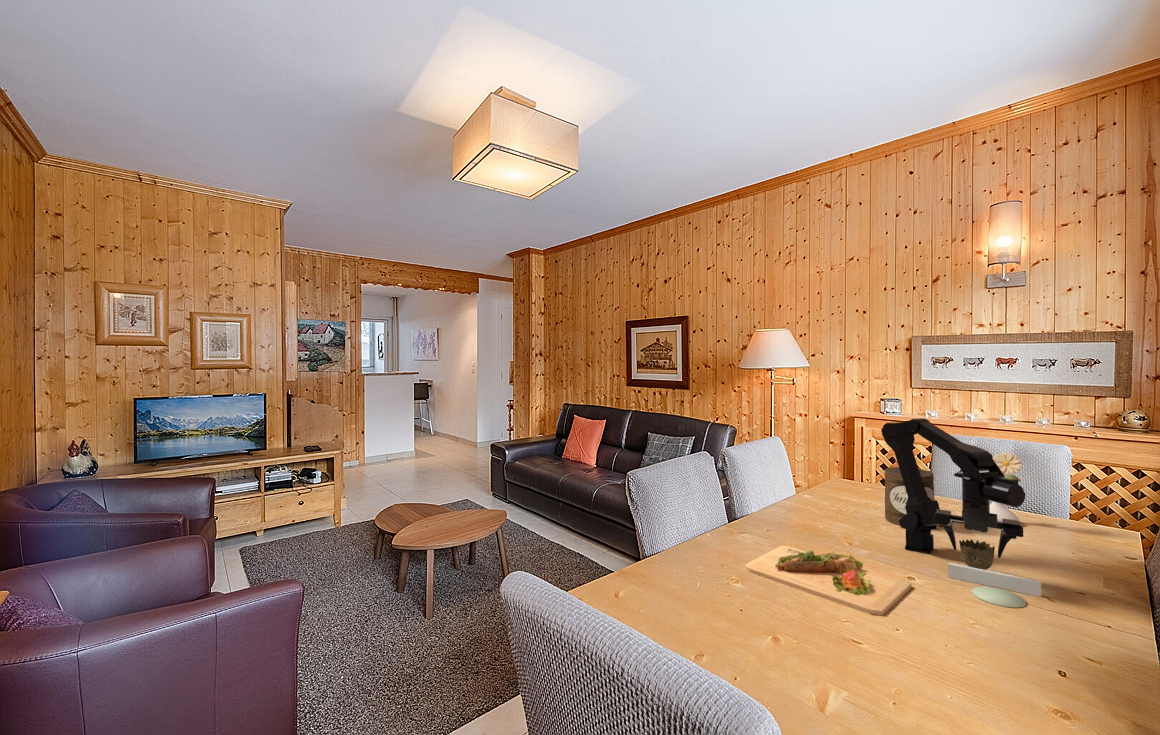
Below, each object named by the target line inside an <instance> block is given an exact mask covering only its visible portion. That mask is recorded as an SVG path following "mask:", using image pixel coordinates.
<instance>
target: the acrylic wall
mask: <svg viewBox="0 0 1160 735" xmlns="http://www.w3.org/2000/svg"><path fill="white" fill-rule="evenodd" d="M947 577H948V578H951V579H955V580H959V581H964V582H969V583H973V584H979V585H984V586H986V587H992V588H997V589H1002V590H1005V591H1010V592H1011V591H1012V592H1015V593H1016V592H1017V593H1019V594H1020V593H1022V594H1026V595H1031V596H1035V597H1040V598H1041V597H1042V583H1041V580H1039V579H1034V578H1028V577H1023V576H1022V577H1021V576H1017V575H1012V574H1007V573H1003V572H998V571H992V570H989V569H986V570H983V569H978V568H973V567H969V566H968V565H964V564H963V565H962V564H958V563H957V564H956V563H951V562H948V563H947Z"/></svg>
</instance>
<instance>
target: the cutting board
mask: <svg viewBox="0 0 1160 735" xmlns="http://www.w3.org/2000/svg"><path fill="white" fill-rule="evenodd" d="M863 566H864V564H863V563H862V561H860V560H858V559H856V558H855V556H852V554H849V553H844V554H841V553H840V554H839V553H836V552H827V553H824V554H823V553H822V554H817V553H814V550H812V549H810V548H809V549H807V550H803V549H800V548H797V547H793V546H788V545H780V546H777V547H776V548H774V549H772V550H770V551H767V552H766V553H764V554H762V555H760V556H759V557H756V558H754V559H753V560H751V561H749V562H747V563H746V564H744V569H745V570H747V572H749V573H751V574H754V575H757V576H759V577H763V578H766V579H768V580H771V581H774V582H776V583H780V584H783V585H785V586H789V587H790V588H791V587H792V588H794V589H797V590H799V591H803V592H806V593H809V594H811V595H814V596H817V597H820V598H823V599H826V600H829V601H832V602H834V603H837V604H840V605H843V606H846V607H849V608H851V609H854V610H858V611H860V612H862V613H866V614H869V615H876V616H877V615H879V616H883V615H884V614H885V613H887V612H888V610H889V609H891V608H892V606H894V605H895V604H896V602H898V601H899V600H900V599H901V598H902V597H903V596H904V595H905V594H906V593H907V592H908V591H910V589H911V588H912V582H910V581H909V580H906V579H905V578H902V577H898V576H895V575H891V574H888V573H885V572H882V571H881V572H880V571H877V570H874V569H870V568H867V567H863Z"/></svg>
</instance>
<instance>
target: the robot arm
mask: <svg viewBox="0 0 1160 735" xmlns="http://www.w3.org/2000/svg"><path fill="white" fill-rule="evenodd" d="M880 432H881V435H882V438H883V439H884V442H885V444H886V445H887V446H888V447H889V448H890V449H891V450H892V451H893V453H894V455H895V459H896V462H897V465H898V466H897V467H899V469H900V472H901V476H902V479H903V482H904V485H905V489H906V492H907V495H908V499H907V503H906V513H907V514H906V515H905V516H904V517H903V518H901V519H900V520H899V523H900V525H899V526H900V528H901V529H903V530H905V546H904V549H905V550H908V551H913V552H919V553H922V554H923V553H924V554H932V551H934V549H935V539H934V534H932V531H934V530H935V531H936V530H937V528H938V527H940V528H943V529H944V531H945V532H946V533H947V535H948V536H947V537H948V538H949V540H950V543H951V545H952V547H953V551H957V541H956V534H955V529H954V528H955V526H954V523H958V524H963V527H964V529H965V530H968V531H978V532H981V533H988V531H989V528H990V529H996V530H1000V531H999V532H1000V533H999V534H1000V535H999V541H998V547H997V558H998V559H1001V557H1002V554H1003V553H1004V550H1005V548H1006V546H1007V544H1008V543H1009V542H1010V541H1011V540H1017V537H1018V538H1024V525H1023V523H1022V522H1021V521H1020V520H1019V521H1017V520H1010V519H1003V518H1002V522H997V514H992V513H990V504H991V502H997V503H1001V504H1003V505H1004V506H1008V507H1013V508H1019V507H1021V506H1022V505H1023V504H1024V502H1025V500H1026V492H1025V490H1024V487H1022V486H1021V484H1020V485H1019V482H1018V480H1016V479H1008V478H1006V477H1005V474H1003V473H1002V471H1001V470H1000V468H999V467H998V466H997V464H996V463H995V461H994V460H993V457H994V456H993V455H992V454H991V453H990V452H989V451H988V450H985V449H983V448H980V447H978V446H977V445H971V444H968V443H965V442H962V441H960V440H959V439H957V438H956V437H954V436H953V435H951V434H949V433H948V432H946V431H945V430H943V429H941V428H940V427H939V426H937V425H934V424H933V423H931V422H930V420H929V419H927V418H924V417H923V418H921V417H920V418H911V419H909V420H906V421H897V422H886V423H884V425H883V426H882V428H881V431H880ZM915 435H919V436H920V437H922V438H923V439H924V440H926V441H928V442H929V443H931V444H933V445H934V446H936V447H937V448H938V449H940V450H941V451H943V452H945V453H946V454H947V455H948V456H949V457H950V459H951V461H952V462H953V464H954V465H956V466H957V467H958V468H959V469H960V470H958V471H957V472H955V473H953V476H954V477H956V478H961V484H962V485H961V486H962V487H961V489H962V490H961V491H962V493H961V495H962V496H961V497H962V501H961V502H962V510H961V515H956V514H955V515H954V514H952V511H951V510H948V509H947V510H945V509H940V504H939V502H938V500H936V499H935V500H934V501H932V500H931V499H930V498H929V497H928V496H927V494H926V491H925V487H924V484H923V481H922V478H921V475H920V472H919V469H920V468H919V466H918V463H917V459H916V457H915V453H914V450H913V447H914V443H915V441H916V440H915V439H916V438H915ZM1004 477H1005V478H1004ZM990 501H991V502H990Z"/></svg>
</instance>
